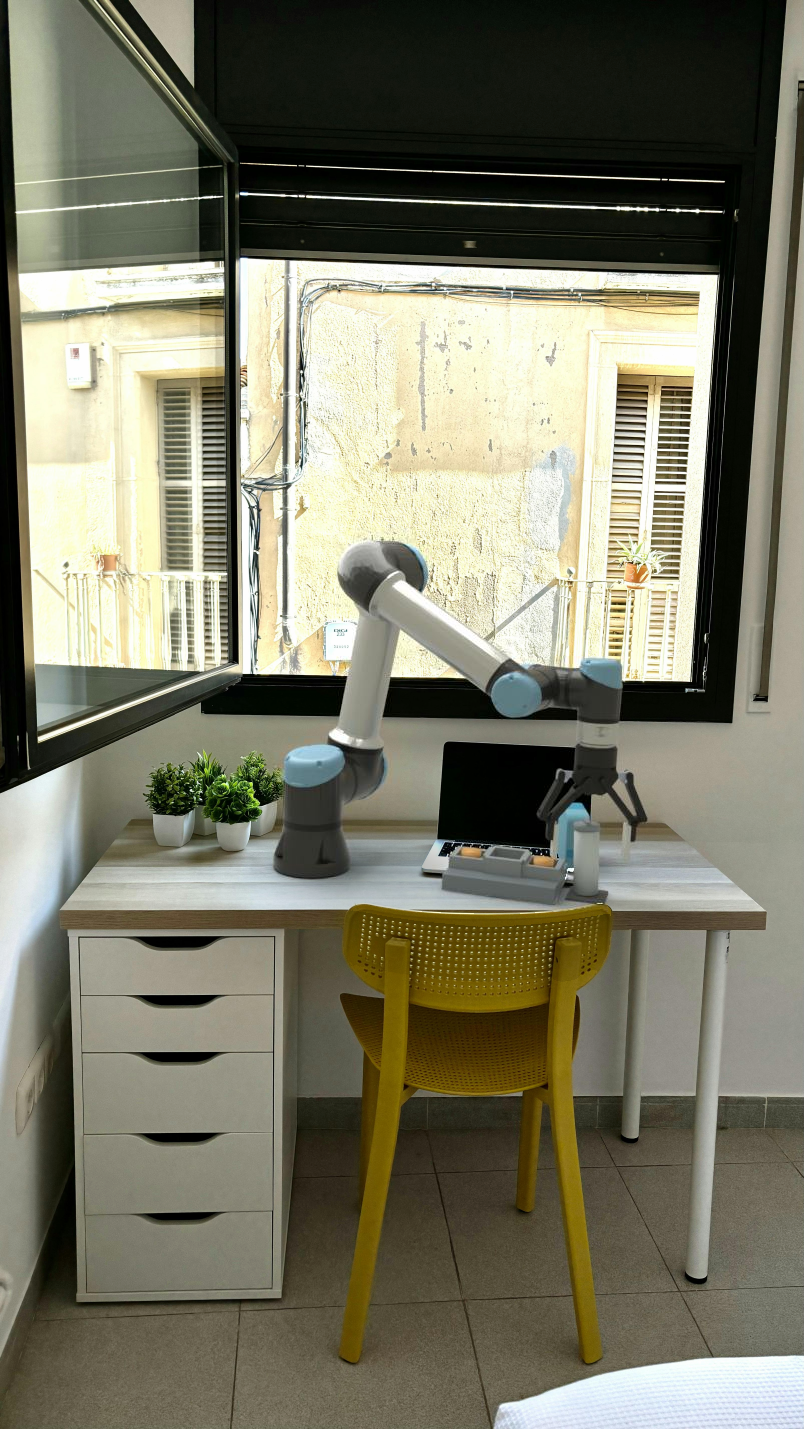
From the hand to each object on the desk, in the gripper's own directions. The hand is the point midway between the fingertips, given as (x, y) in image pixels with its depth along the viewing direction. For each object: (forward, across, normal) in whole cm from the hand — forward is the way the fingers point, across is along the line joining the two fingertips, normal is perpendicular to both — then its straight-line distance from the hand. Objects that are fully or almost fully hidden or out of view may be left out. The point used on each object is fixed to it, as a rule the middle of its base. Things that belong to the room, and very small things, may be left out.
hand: (589, 858), depth 181 cm
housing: (+7, -14, +6) cm, 17 cm away
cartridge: (+7, 0, +1) cm, 7 cm away
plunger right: (+4, -8, +4) cm, 9 cm away
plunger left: (+4, -21, +9) cm, 23 cm away
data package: (+8, +1, +19) cm, 20 cm away
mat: (+7, 0, 0) cm, 7 cm away
